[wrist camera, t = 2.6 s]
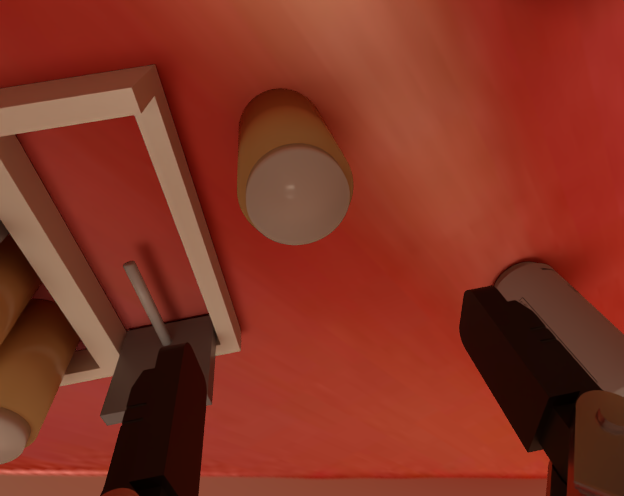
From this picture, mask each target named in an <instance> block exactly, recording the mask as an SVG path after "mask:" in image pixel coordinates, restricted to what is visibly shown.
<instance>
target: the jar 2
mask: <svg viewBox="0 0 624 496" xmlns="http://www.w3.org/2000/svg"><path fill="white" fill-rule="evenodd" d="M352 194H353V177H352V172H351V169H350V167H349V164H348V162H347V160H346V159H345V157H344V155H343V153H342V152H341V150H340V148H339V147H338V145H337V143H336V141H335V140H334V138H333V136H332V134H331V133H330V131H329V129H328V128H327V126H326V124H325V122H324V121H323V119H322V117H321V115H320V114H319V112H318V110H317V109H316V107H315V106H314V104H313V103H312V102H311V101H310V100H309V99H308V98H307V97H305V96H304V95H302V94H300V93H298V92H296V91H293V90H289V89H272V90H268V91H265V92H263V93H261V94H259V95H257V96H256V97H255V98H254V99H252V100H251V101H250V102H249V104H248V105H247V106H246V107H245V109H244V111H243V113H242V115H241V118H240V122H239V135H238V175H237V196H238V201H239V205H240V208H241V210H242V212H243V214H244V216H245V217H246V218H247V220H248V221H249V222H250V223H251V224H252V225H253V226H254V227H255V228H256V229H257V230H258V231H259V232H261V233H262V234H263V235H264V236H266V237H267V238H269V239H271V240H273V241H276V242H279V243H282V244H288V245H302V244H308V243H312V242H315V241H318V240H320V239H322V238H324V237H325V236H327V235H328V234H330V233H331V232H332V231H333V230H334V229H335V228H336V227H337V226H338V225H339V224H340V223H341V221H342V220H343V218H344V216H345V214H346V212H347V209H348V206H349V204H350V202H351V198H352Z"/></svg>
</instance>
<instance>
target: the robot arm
mask: <svg viewBox="0 0 624 496" xmlns="http://www.w3.org/2000/svg"><path fill="white" fill-rule="evenodd" d="M459 330H460V336H461V340H462V343H463V345H464V347H465V349H466V351H467V352H468V354H469V356H470V357H471V359H472V361H473V362H474V364H475V366H476V367H477V369H478V371H479V372H480V374H481V376H482V377H483V379H484V380H485V382H486V384H487V385H488V387H489V389H490V390H491V392H492V394H493V395H494V397H495V399H496V400H497V402H498V404H499V405H500V407H501V409H502V410H503V412H504V414H505V415H506V417H507V419H508V420H509V422H510V424H511V425H512V427H513V429H514V430H515V432H516V434H517V435H518V437H519V439H520V440H521V442H522V444H523V445H524V447H525V449H526V450H527V452H533V451H537V450H542V449H544V451H545V453H546V454H547V456H548V457H549V459H550V461H549V464H548V474H547V488H546V496H624V397H622V396H620V395H617V394H615V393H612V392H608V391H603V390H602V389H601V388H600V387H599V386H598V385H597V384H596V382H595V381H594V380H593V379H592V378H591V377H590V376H589V374H588V373H587V372H586V371H585V370H584V369H583V368H582V366H581V365H580V364H579V363H578V362H577V361H576V360H575V358H574V357H573V356H572V355H571V354H570V353H569V352H568V350H567V349H566V348H565V347H564V346H563V345H562V344H561V342H560V341H559V340H558V341H557V340H556V337H555V336H554V334H553V333H552V332H551V331H550V330H549V329H548V328H546V325H545V324H544V323H543V322H542V321H541V320H540V318H539V317H538V316H537V315H536V314H535V313H534V312H533V311H532V310H531V309H529V308H527V307H526V306H524V305H523V304H521V303H519V302H518V301H516V300H512V301H507V300H506V299H505V298H504V296H503V295H502V294H501V293H500V292H499V290H498V289H497V288H496V287H494V286H487V287H482V288H477V289H471V290H467V291H465V293H464V297H463V304H462V311H461V318H460V326H459ZM206 401H207V387H206V381H205V377H204V374H203V372H202V369H201V367H200V365H199V363H198V360H197V358H196V356H195V353H194V351H193V349H192V347H191V345H190V343H188V342H186V343H181V344H176V345H171V346H165V347H161V348H160V349H159V352H158V355H157V360H156V364H155V368H152V369H147V370H143V371H142V373H141V374H140V376H139V377H138V379H137V380H136V382H135V383H134V385H133V386H132V387H131V391H130V394H129V398H128V402H127V405H126V407H127V409H126V410H125V413H124V416H123V420H122V426H121V427H120V431H119V434H118V438H117V442H116V445H115V449H114V453H113V456H112V460H111V464H110V467H109V471H108V475H107V478H106V482H105V485H104V488H103V491H102V493H101V495H100V496H198V493H199V481H200V470H201V459H202V447H203V436H204V424H205V413H206Z"/></svg>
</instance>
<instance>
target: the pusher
mask: <svg viewBox="0 0 624 496" xmlns="http://www.w3.org/2000/svg"><path fill="white" fill-rule="evenodd" d="M123 267H124V269H125V271H126V273H127V275H128V277H129V279H130V281H131V283H132V285H133V287H134V289H135V291H136V293H137V295H138V297H139V299H140V301H141V303H142V305H143V307H144V309H145V311H146V313H147V315H148V317H149V319H150V321H151V323H152V325H153V326H151V327H145V328H140V329H135V330H129V331H127V334H126V337H125V340H124V344H123V347H122V350H121V353H120V356H119V359H118V362H117V365H116V368H115V371H114V374H113V377H112V380H111V383H110V387H109V390H108V393H107V396H106V399H105V402H104V405H103V408H102V411H101V414H100V417H101V418H102V419H103V421H104V422H105V423H106V425H112V424H117V423H122V420H123V416H124V413H125V410H126V409H127V407H126V405H127V402H128V398H129V394H130V391H131V387H132V386H133V385H134V383H135V382H136V380H137V379H138V377H139V376H140V374H141V373H142V371H143V370H147V369H152V368H155V364H156V360H157V355H158V352H159V349H160V348H161V347H165V346H171V345H176V344H181V343H186V342H188V343H190V345H191V347H192V349H193V351H194V353H195V356H196V358H197V360H198V363H199V365H200V367H201V369H202V372H203V374H204V377H205V381H206V387H207V401H206V406H207V405H212V396H213V382H214V368H215V354H216V340H217V333H216V331H215V328H214V326H213V323H212V320H211V318H210V315H209V316H203V317H198V318H193V319H187V320H182V321H177V322H172V323H166V324H164V322H163V320H162V318H161V316H160V314H159V312H158V309H157V307H156V305H155V303H154V301H153V299H152V297H151V295H150V293H149V291H148V288H147V286H146V284H145V282H144V280H143V278H142V276H141V274H140V272H139V270H138V267H137V265H136V263H135V261H129V262H126V263H125V264H124V265H123Z"/></svg>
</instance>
